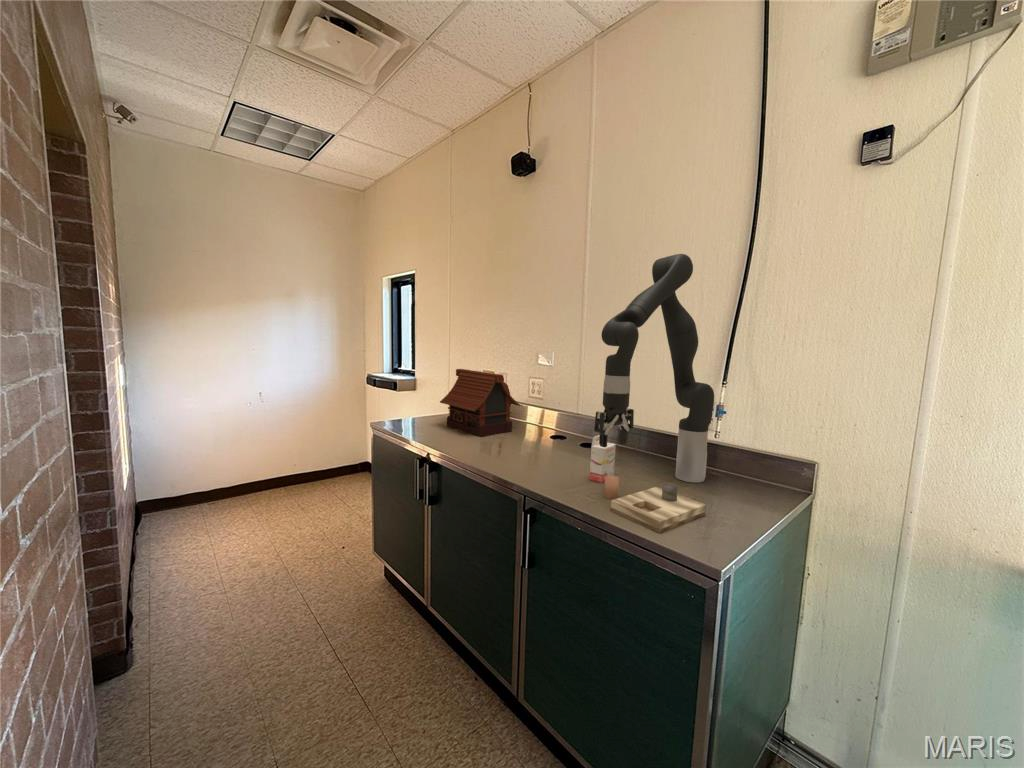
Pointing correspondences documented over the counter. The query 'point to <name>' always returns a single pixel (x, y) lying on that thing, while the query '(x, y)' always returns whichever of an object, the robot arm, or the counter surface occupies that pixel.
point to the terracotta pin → (611, 487)
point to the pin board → (658, 508)
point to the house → (479, 404)
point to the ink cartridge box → (601, 460)
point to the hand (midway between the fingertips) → (613, 444)
